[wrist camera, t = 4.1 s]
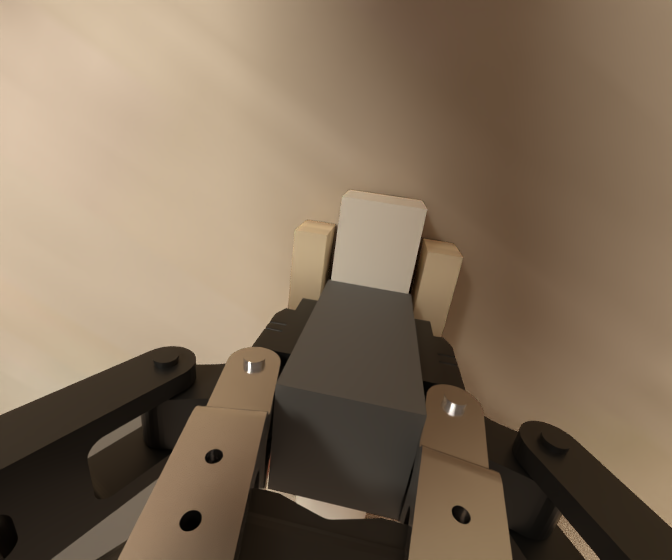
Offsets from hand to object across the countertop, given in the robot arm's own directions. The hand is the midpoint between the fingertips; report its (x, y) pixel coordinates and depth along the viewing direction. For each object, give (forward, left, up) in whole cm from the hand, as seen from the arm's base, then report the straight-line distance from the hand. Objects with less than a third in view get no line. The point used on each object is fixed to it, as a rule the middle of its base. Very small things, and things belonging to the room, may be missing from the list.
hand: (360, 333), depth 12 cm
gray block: (0, 0, -3) cm, 3 cm away
